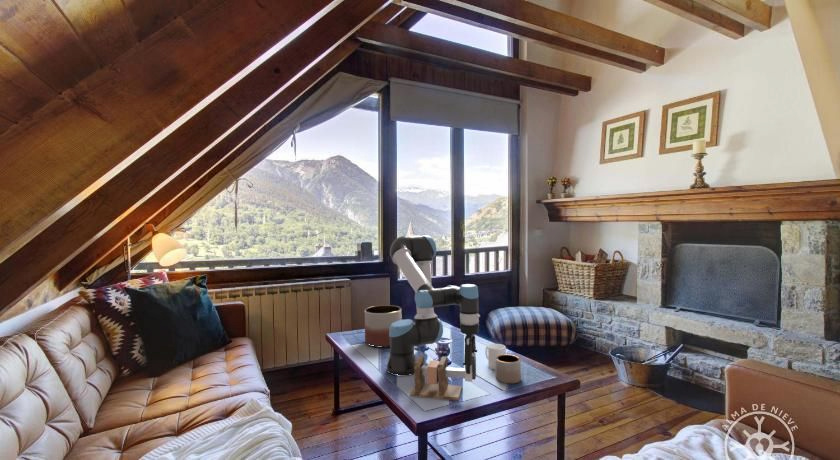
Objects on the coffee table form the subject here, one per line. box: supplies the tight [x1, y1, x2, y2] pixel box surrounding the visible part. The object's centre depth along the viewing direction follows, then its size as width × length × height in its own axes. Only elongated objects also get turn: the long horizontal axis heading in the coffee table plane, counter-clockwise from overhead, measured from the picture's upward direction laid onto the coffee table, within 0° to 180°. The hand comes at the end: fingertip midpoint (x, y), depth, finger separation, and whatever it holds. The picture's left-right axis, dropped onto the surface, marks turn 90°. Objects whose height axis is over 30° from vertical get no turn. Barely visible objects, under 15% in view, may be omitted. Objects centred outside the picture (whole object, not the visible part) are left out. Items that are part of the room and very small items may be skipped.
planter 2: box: [495, 354, 522, 385], centre depth 176 cm, size 11×11×10 cm
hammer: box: [421, 356, 477, 381], centre depth 163 cm, size 24×4×8 cm, turn 76°
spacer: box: [426, 360, 440, 384], centre depth 165 cm, size 4×7×7 cm, turn 166°
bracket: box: [409, 354, 463, 401], centre depth 165 cm, size 20×11×14 cm, turn 76°
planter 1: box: [364, 304, 403, 348], centre depth 233 cm, size 22×22×20 cm
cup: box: [485, 343, 507, 371], centre depth 192 cm, size 8×12×10 cm
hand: (470, 374), depth 161 cm, fingers open, 13 cm apart
